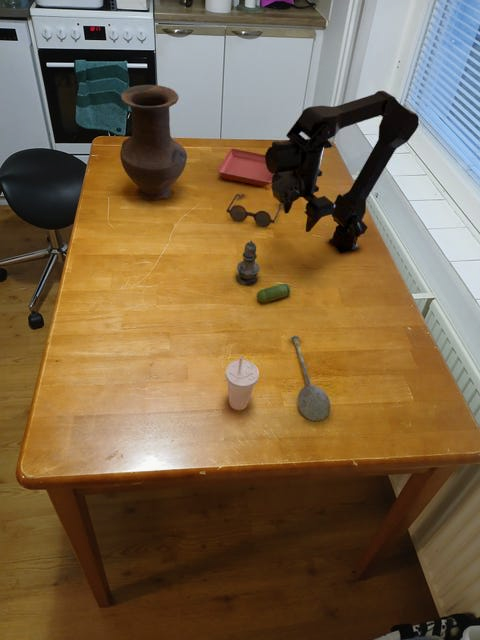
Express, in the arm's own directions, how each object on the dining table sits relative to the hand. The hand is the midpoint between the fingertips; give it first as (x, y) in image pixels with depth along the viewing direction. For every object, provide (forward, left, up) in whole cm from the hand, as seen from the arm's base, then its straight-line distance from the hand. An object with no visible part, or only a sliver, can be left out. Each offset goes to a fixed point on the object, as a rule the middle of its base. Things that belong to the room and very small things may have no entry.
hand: (296, 222), depth 125 cm
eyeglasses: (-2, -24, -12) cm, 27 cm away
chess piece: (+15, +3, -12) cm, 19 cm away
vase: (+23, -44, -12) cm, 51 cm away
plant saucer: (-11, -46, -12) cm, 49 cm away
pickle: (+12, +12, -12) cm, 21 cm away
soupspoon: (+18, +37, -12) cm, 43 cm away
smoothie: (+34, +37, -12) cm, 52 cm away
